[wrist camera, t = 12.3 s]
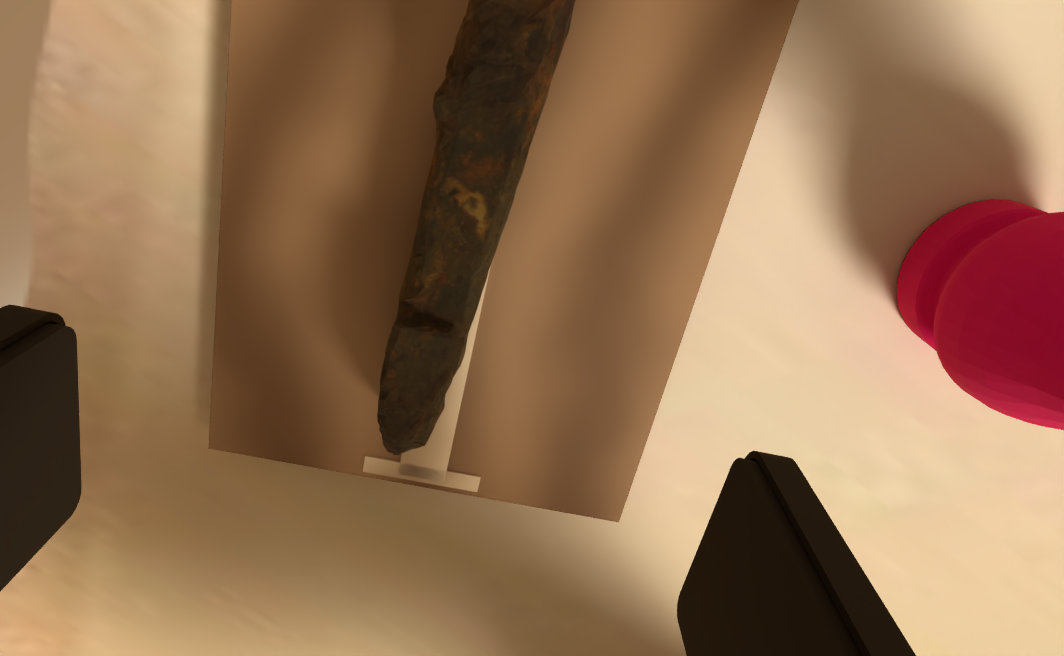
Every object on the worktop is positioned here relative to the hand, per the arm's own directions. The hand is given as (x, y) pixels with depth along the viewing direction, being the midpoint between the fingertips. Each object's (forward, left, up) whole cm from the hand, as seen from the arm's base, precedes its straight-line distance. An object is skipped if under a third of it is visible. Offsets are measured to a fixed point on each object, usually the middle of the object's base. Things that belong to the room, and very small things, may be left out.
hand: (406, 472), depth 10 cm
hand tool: (0, 0, -17) cm, 17 cm away
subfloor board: (0, 0, -18) cm, 18 cm away
